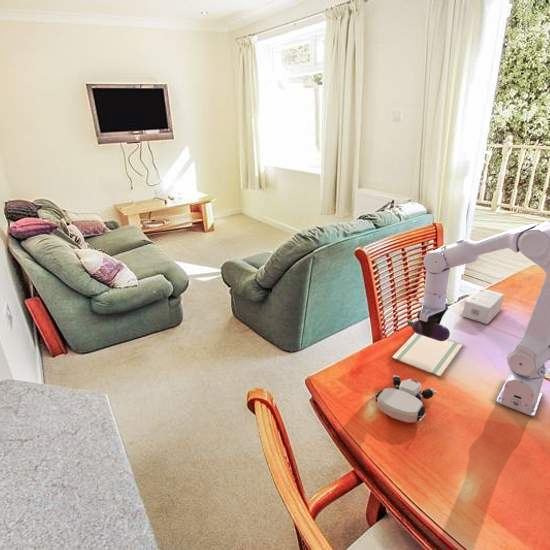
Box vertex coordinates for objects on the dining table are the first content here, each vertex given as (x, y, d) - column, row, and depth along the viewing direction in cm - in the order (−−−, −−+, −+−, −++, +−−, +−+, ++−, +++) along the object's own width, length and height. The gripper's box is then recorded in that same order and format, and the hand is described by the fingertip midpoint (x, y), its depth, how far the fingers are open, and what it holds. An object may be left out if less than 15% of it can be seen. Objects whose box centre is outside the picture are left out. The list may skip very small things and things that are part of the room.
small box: (486, 325, 124) (501, 310, 131) (489, 308, 121) (504, 294, 129) (461, 316, 129) (477, 303, 137) (464, 300, 127) (480, 287, 134)
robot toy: (391, 382, 102) (367, 412, 92) (393, 368, 101) (368, 397, 90) (438, 400, 95) (417, 435, 84) (440, 386, 93) (419, 419, 83)
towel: (440, 376, 102) (440, 375, 102) (391, 358, 111) (392, 356, 111) (462, 346, 114) (462, 345, 114) (417, 331, 123) (417, 330, 123)
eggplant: (451, 339, 108) (453, 325, 106) (445, 346, 105) (447, 332, 103) (411, 326, 116) (412, 313, 114) (404, 332, 113) (405, 319, 111)
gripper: (431, 278, 111) (426, 317, 117) (410, 296, 102) (406, 338, 107) (455, 283, 107) (450, 324, 112) (436, 303, 97) (431, 347, 103)
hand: (430, 331), depth 110 cm, fingers closed on eggplant, 4 cm apart
